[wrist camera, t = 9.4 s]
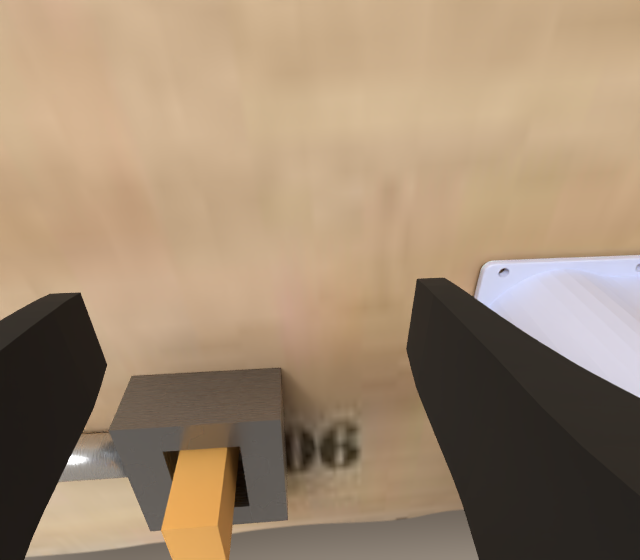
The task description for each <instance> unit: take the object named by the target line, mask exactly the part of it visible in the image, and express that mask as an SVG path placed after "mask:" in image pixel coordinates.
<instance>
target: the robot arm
mask: <svg viewBox="0 0 640 560" xmlns="http://www.w3.org/2000/svg"><path fill="white" fill-rule="evenodd" d="M638 264H639V265H638ZM637 265H638V266H637ZM503 268H505V270H504V271H503V272H502V273H499V271H500V270H501V269H503ZM406 349H407V354H408V358H409V362H410V366H411V370H412V373H413V377H414V381H415V384H416V388H417V391H418V393H419V396H420V398H421V401H422V403H423V406H424V408H425V411H426V413H427V416H428V418H429V421H430V423H431V426H432V428H433V431H434V433H435V436H436V438H437V440H438V443H439V445H440V448H441V450H442V453H443V455H444V458H445V460H446V462H447V465H448V467H449V470H450V472H451V475H452V477H453V480H454V482H455V485H456V488H457V490H458V493H459V496H460V499H461V501H462V504H463V507H464V511H465V514H466V517H467V520H468V524H469V527H470V531H471V534H472V537H473V540H474V544H475V547H476V551H477V554H478V557H479V560H640V255H626V256H600V257H574V258H548V259H521V260H495V261H489V262H487V263H485V264H484V265H483V266H482V268H481V271H480V275H479V279H478V283H477V287H476V291H475V295H474V297H473V296H471V295H470V294H468V293H467V292H465V291H464V290H463V289H461V288H460V287H458V286H457V285H455V284H454V283H452V282H450V281H449V280H447V279H445V278H425V279H417V282H416V289H415V296H414V302H413V309H412V315H411V322H410V329H409V335H408V342H407V348H406ZM106 367H107V363H106V361H105V358H104V355H103V352H102V350H101V347H100V344H99V342H98V339H97V336H96V334H95V331H94V328H93V325H92V323H91V320H90V317H89V315H88V312H87V309H86V307H85V304H84V301H83V298H82V296H81V293H59V294H49V295H47V296H45V297H42V298H40V299H38V300H36V301H34V302H32V303H31V304H29V305H27V306H25V307H23V308H21V309H20V310H18V311H16V312H14V313H13V314H11V315H9V316H7V317H6V318H4V319H2V320H1V321H0V560H24V559H25V556H26V553H27V550H28V548H29V545H30V542H31V540H32V537H33V535H34V533H35V530H36V528H37V526H38V524H39V521H40V519H41V517H42V514H43V512H44V510H45V508H46V506H47V504H48V502H49V500H50V498H51V496H52V494H53V492H54V490H55V488H56V485H57V483H58V481H59V479H60V477H61V475H62V473H63V471H64V469H65V467H66V465H67V463H68V461H69V459H70V457H71V455H72V453H73V451H74V448H75V446H76V444H77V442H78V440H79V438H80V436H81V434H82V432H83V430H84V427H85V425H86V423H87V421H88V419H89V417H90V415H91V412H92V410H93V408H94V405H95V402H96V399H97V396H98V393H99V391H100V387H101V384H102V381H103V377H104V374H105V370H106Z"/></svg>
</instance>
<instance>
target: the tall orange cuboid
mask: <svg viewBox="0 0 640 560" xmlns="http://www.w3.org/2000/svg"><path fill="white" fill-rule="evenodd" d="M239 450H240V446H239V447H224V448H209V449H195V450H180V452H179V456H178V460H177V464H176V469H175V473H174V477H173V481H172V486H171V490H170V494H169V499H168V503H167V507H166V511H165V516H164V520H163V524H162V528H161V531H162V534H163V537H164V539H165V542H166V544H167V547H168V549H169V552H170V555H171V557H172V560H229V554H230V543H231V534H232V523H233V513H234V502H235V492H236V481H237V471H238V460H239Z"/></svg>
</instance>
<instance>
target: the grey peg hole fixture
mask: <svg viewBox="0 0 640 560" xmlns="http://www.w3.org/2000/svg"><path fill="white" fill-rule="evenodd" d="M239 446H240V449H241V453H239V460H238V471H237V481H236V492H235V502H234V513H233V523H232V525H234V524H246V523H258V522H271V521H283V520H288V498H287V458H286V443H285V428H284V413H283V397H282V382H281V368H272V369H253V370H235V371H217V372H199V373H181V374H163V375H144V376H132V377H131V379H130V381H129V384H128V386H127V388H126V391H125V393H124V396H123V398H122V400H121V403H120V405H119V407H118V410H117V412H116V414H115V417H114V419H113V422H112V424H111V426H110V429H109V433H95V434H81V436H80V438H79V440H78V442H77V444H76V446H75V448H74V451H73V453H72V455H71V457H70V459H69V461H68V463H67V465H66V467H65V469H64V471H63V473H62V475H61V477H60V479H59V481H58V482H67V481H81V480H95V479H108V478H122V477H128V478H129V481H130V483H131V486H132V488H133V491H134V493H135V495H136V498H137V500H138V503H139V505H140V507H141V510H142V512H143V515H144V517H145V519H146V522H147V524H148V527H149V529H150V531H160V530H161V528H162V524H163V520H164V516H165V511H166V507H167V503H168V499H169V494H170V490H171V486H172V481H173V477H174V473H175V469H176V464H177V460H178V456H179V452H180V450H195V449H209V448H224V447H239Z"/></svg>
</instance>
